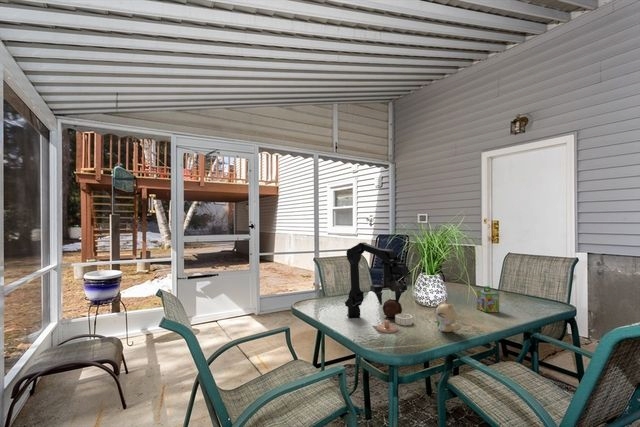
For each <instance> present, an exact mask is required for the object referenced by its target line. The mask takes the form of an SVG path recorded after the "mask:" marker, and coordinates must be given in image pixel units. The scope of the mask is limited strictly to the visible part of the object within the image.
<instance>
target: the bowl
mask: <svg viewBox="0 0 640 427" xmlns="http://www.w3.org/2000/svg"><path fill="white" fill-rule="evenodd" d="M413 322H414V321H413V315H411V314H410V313H405V312H404V313H401V314H396V315H395V318H394V323H395V324H396V325H400V326H411V325H413Z"/></svg>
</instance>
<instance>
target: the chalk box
mask: <svg viewBox="0 0 640 427" xmlns="http://www.w3.org/2000/svg"><path fill="white" fill-rule="evenodd" d="M487 289H488V290H487ZM478 309H479V310H478ZM476 310H478V311H481V310H482V311H481V312H483V313H486V312H493V313H497V312H496V311H499V312H500V293H498V292H495V291H492V290H491V287H490V286H489V285H488V286H486V285H485V286H483V290H476Z"/></svg>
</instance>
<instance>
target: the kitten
mask: <svg viewBox="0 0 640 427" xmlns="http://www.w3.org/2000/svg"><path fill="white" fill-rule="evenodd" d="M434 316H435V319H436V320H437V321H436V323H437V328H438V331H439V332H440V333H443V332H444V333H451V332H458V331H460V330H461V329H462V325H460V324H457V326H456V327H455V328H454V327H453V326H452V324H455V323H456V320H457V312H456V310H455V308H454V304H453V303H449V304H448V303H447V302H446V301H445V299H444V298H443V299H441V304H439V305H438V306H437V307H436V309H434Z"/></svg>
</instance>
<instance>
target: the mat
mask: <svg viewBox="0 0 640 427" xmlns="http://www.w3.org/2000/svg"><path fill="white" fill-rule="evenodd" d="M392 325H393V326H396V325H395V324H392ZM377 326H378V325H372V328H373V329H374V330H375V332H377V333H378V334H379V335H391V334H392V335H394V334H404V333H403V331H401V329H399V328H398V331H397V332H395V333H383V332H380V331H378V330H377Z"/></svg>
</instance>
